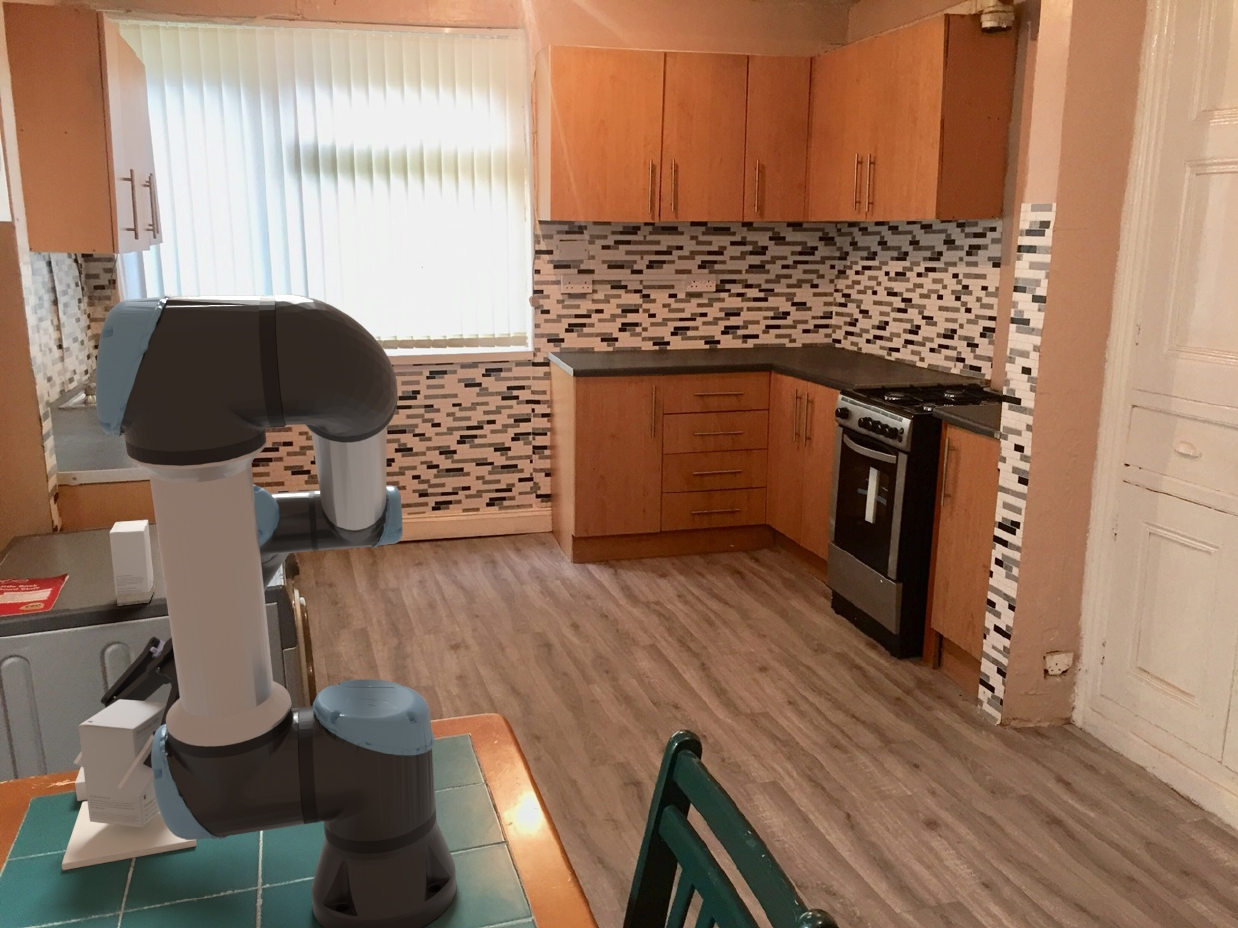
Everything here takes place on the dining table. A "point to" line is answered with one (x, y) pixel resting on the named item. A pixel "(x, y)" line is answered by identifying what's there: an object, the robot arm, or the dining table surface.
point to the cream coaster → (117, 841)
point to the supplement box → (118, 761)
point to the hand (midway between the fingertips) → (105, 779)
